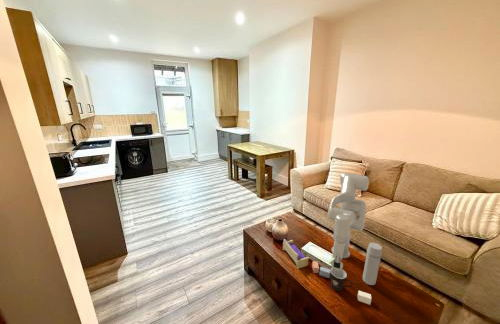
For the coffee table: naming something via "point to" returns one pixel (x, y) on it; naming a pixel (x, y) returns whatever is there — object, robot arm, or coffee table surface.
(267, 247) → the coffee table surface
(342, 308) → the coffee table surface
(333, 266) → the sage brick
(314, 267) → the terracotta brick
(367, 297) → the cream brick
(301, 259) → the toy sofa
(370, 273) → the water bottle
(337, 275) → the coffee mug
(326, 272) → the slate brick
